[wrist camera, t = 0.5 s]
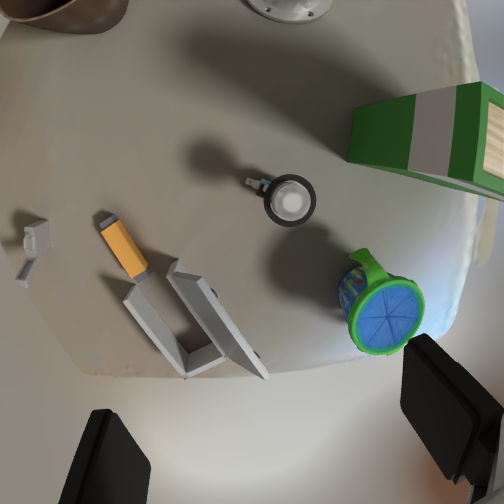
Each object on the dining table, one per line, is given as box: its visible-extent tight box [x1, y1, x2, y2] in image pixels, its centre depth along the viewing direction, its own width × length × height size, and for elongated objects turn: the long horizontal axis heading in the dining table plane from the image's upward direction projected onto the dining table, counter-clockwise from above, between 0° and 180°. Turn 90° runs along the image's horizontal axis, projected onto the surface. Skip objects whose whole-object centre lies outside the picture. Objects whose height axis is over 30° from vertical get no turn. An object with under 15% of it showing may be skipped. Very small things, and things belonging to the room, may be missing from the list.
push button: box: [245, 174, 316, 227], centre depth 36 cm, size 7×5×10 cm
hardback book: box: [348, 81, 504, 202], centre depth 29 cm, size 18×7×24 cm, turn 82°
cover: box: [171, 271, 271, 381], centre depth 36 cm, size 14×8×1 cm
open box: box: [123, 259, 230, 379], centre depth 42 cm, size 14×8×5 cm, turn 29°
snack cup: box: [338, 248, 425, 355], centre depth 41 cm, size 16×10×10 cm
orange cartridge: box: [99, 214, 151, 283], centre depth 40 cm, size 9×2×2 cm, turn 29°
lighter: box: [15, 220, 50, 288], centre depth 36 cm, size 7×2×8 cm, turn 174°
